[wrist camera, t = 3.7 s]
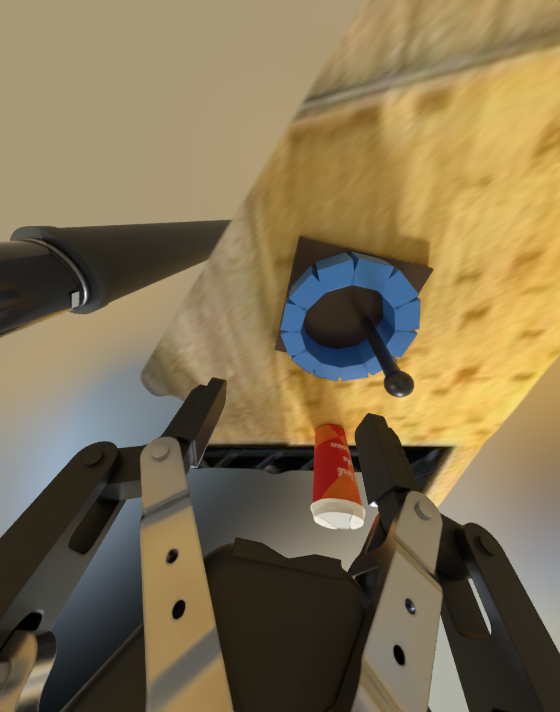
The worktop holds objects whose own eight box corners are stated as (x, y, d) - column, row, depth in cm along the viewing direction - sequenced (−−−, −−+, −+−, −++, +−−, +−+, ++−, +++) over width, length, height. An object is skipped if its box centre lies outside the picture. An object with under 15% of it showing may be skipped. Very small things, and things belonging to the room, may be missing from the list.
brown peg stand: (275, 345, 29) (256, 421, 18) (299, 235, 21) (290, 256, 10) (368, 366, 29) (403, 454, 19) (428, 266, 21) (551, 318, 10)
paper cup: (354, 441, 40) (372, 531, 28) (317, 446, 42) (320, 531, 31) (344, 416, 36) (360, 509, 25) (304, 423, 39) (302, 510, 27)
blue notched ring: (276, 349, 28) (271, 366, 25) (300, 239, 20) (299, 243, 17) (370, 370, 28) (378, 390, 25) (431, 270, 20) (454, 281, 17)
